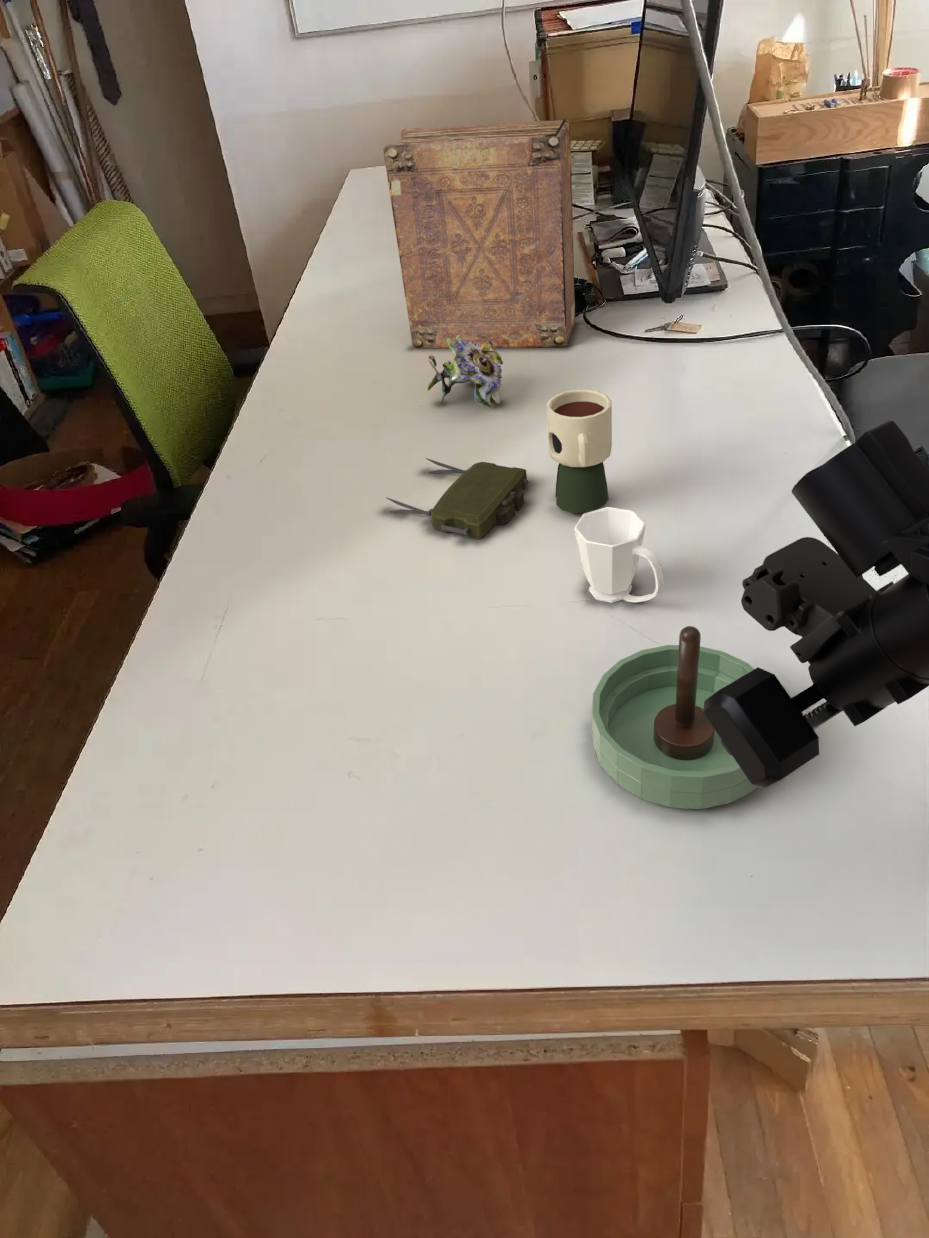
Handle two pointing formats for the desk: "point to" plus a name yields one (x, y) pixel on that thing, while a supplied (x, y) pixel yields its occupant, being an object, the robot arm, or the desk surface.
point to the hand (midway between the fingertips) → (773, 717)
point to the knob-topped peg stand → (685, 708)
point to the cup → (614, 553)
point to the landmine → (476, 499)
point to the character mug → (580, 447)
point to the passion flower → (471, 370)
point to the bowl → (629, 730)
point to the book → (485, 232)
